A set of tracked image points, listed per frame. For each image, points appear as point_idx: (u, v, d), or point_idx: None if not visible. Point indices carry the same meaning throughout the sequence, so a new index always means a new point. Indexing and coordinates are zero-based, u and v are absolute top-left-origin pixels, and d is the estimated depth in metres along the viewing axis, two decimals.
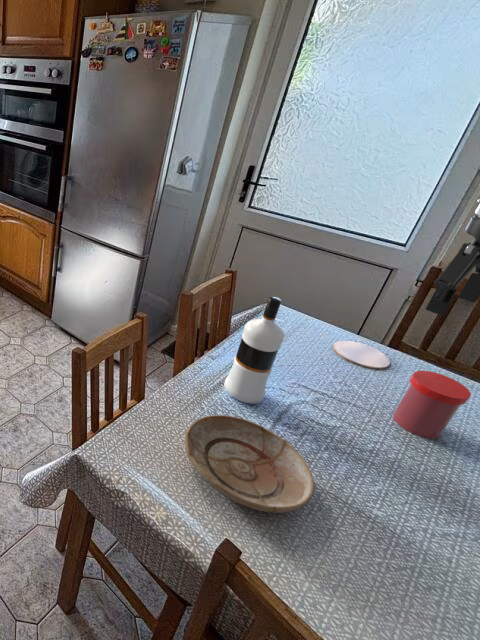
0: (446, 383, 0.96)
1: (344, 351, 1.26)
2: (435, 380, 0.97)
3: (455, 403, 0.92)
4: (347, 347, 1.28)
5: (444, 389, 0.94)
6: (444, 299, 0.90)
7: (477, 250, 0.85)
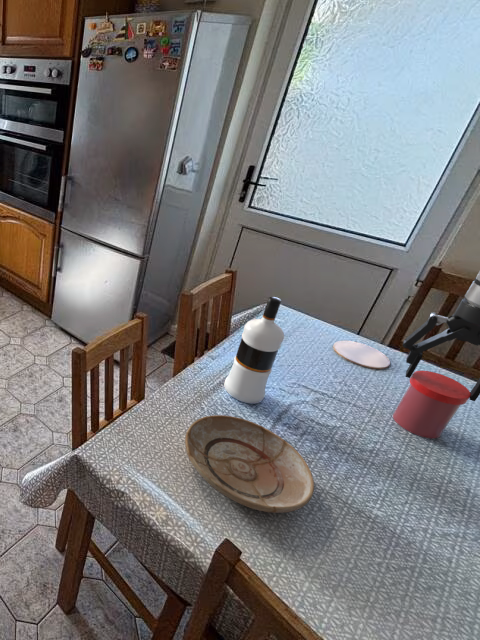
0: (446, 383, 0.96)
1: (344, 351, 1.26)
2: (435, 380, 0.97)
3: (455, 403, 0.92)
4: (347, 347, 1.28)
5: (444, 389, 0.94)
6: (409, 361, 0.98)
7: (430, 318, 0.93)
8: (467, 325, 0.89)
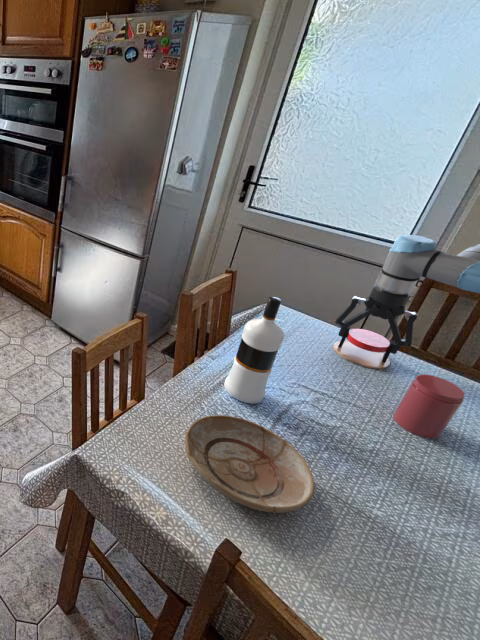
0: (362, 336, 1.23)
1: (344, 351, 1.26)
2: (369, 339, 1.22)
3: None
4: (347, 347, 1.28)
5: (373, 336, 1.23)
6: (341, 334, 1.27)
7: (352, 300, 1.22)
8: (378, 304, 1.18)
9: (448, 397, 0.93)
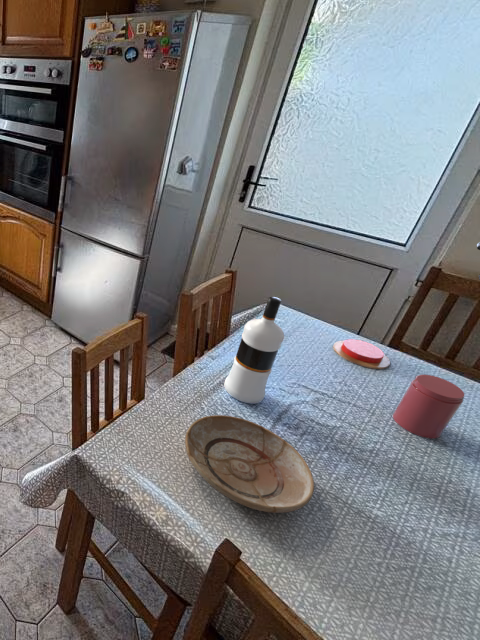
0: (357, 346, 1.25)
1: None
2: (363, 350, 1.24)
3: None
4: None
5: (367, 346, 1.25)
6: None
7: None
8: None
9: (448, 397, 0.93)
